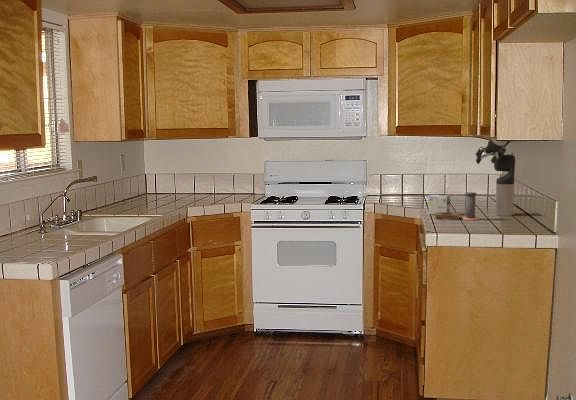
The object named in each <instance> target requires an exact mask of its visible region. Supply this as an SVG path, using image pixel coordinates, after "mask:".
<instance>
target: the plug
mask: <svg viewBox="0 0 576 400" xmlns="http://www.w3.org/2000/svg"><path fill="white" fill-rule="evenodd" d="M465 196H466V209H465V210H466V211H465V213H466V216H465V217H466V218H475V217H476V196H477V193H476V192H466V193H465Z"/></svg>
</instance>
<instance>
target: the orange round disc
mask: <svg viewBox="0 0 576 400" xmlns="http://www.w3.org/2000/svg"><path fill="white" fill-rule="evenodd" d="M462 219H463V220H462ZM461 220H462V221H468V220H469V221H471V222H472V221H473V222H474V221H480V217H478V216H475V218H466V216H461Z"/></svg>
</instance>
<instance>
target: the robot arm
mask: <svg viewBox="0 0 576 400" xmlns="http://www.w3.org/2000/svg"><path fill="white" fill-rule="evenodd" d="M510 143H511V141H496V140H495V139H494V138H492V136H491V137H490V139H489V140H488V141H487V146H486V147H483V146H480V147H479V148H478V150H477V152H476V153H475V156H476V159H475V161H476V164H478V165H479V164H480V163H481V161H482V160H483V159H484V158H487V157H489V156H492V157H491V159H490V162H491V164H493V168H494V170H495V171H496V172H507V173H506V174H505V175H504V176H501V177H498V178H496V182H495V185H496V187H495V188H496V191H495V193H496V195H495V215H496V216H501V217H502V216H503V217H507V216H509V217H510V216H514V209H515V208H514V206H515V203H514V202H515V170H516V169H515V168H516V157H515V154H505V153H506V152H507V149H506V147H507V146H508V145H509V144H510Z"/></svg>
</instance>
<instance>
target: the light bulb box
mask: <svg viewBox="0 0 576 400" xmlns="http://www.w3.org/2000/svg"><path fill="white" fill-rule="evenodd" d="M435 212H451V195H450V194H449V195H445V194H443V195H442V194H431V195H428V215H429V214H435Z"/></svg>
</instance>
